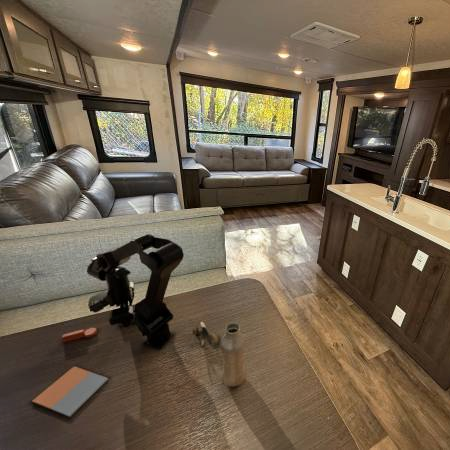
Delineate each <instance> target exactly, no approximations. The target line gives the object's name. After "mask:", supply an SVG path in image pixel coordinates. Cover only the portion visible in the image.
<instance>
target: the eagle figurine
mask: <svg viewBox="0 0 450 450" xmlns="http://www.w3.org/2000/svg"><path fill="white" fill-rule="evenodd" d="M200 327H201V329H200V330H199V327H198V326H197V325H196V326H195V328H196V329H192V332H189V333H188V332H187V335H188V336H195V337H196V338H200V347H203V345H204V344H205V340H206V342H207V343H208V344H209V345H212V347H213V348H217V347H219V346H220V342H221V337H220V336H219V334H217V333H216V331H213V330H210V329H207V327H206V324H205V323H204V322H203V321H201V322H200Z"/></svg>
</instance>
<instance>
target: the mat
mask: <svg viewBox="0 0 450 450" xmlns="http://www.w3.org/2000/svg"><path fill="white" fill-rule="evenodd" d="M107 381H109V378H108V377H105V376H103V375H100V374H98V373H95V372H91V371H89V370H85V369H84V368H80V367H78V366H75V365H74V366H72V367H71V368H70V369H69V370H68V371H67V372H65V373H64V374H63V375H62V376H60V377H59V378H58V379H57V380H56V381H54V382H53V383H52V384H51V385H49V386H48V387H47V388H46V389H44V390H43V391H42V392H41V393H40V394H38V396H36V397H35V398H34V399H32V402H31V403H33V404H36V405H39V406H41V407H44V408H46V409H49V410H50V411H53V412H56V413H58V414H61V415H64V416H66V417H68V418H71V417H72V416H73V415H74V414H75V413H76V412H77V411H78V410H79V409H80V408H81V407H82V406H83V405H84V404H86V402H87V401H88V400H89V399H90V398H91V397H92V396H93V395H95V393H96V392H98V391H99V390H100V388H101V387H103V386H104V385H105V383H106V382H107Z"/></svg>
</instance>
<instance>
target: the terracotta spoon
mask: <svg viewBox="0 0 450 450" xmlns="http://www.w3.org/2000/svg"><path fill="white" fill-rule="evenodd" d="M97 333H98V331H97V328H96V327H89V328H87V329H86V330H85V329H84V328H83V329H80V330H75V331H72V332H68V333H64V334H62V337H61V339H62V341H63V343H68V342H71V341H75V340H78V339H82V338H87V339H88V338H92V337H94V336H95V335H97Z"/></svg>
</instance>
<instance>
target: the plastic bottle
mask: <svg viewBox="0 0 450 450" xmlns="http://www.w3.org/2000/svg"><path fill="white" fill-rule="evenodd" d="M224 329H225V331H224V335H223V336H222V338H220V345H219V346H220V347H219V348H220V351H221V354H222V360H223V365H222V371H221V378H222V381H223V384H225V385H226V386H227V387H233V388H234V387H238V386H239V385H241V384H243V382H244V380H245V378H246V373H247V371H246V366H245V363H244V353H245V347H246V339H245V337H244V335H243V334H242V333H241V327H240V325H239V323H237V322H231V323H229V324H227V325H226V326H225V328H224Z"/></svg>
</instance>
